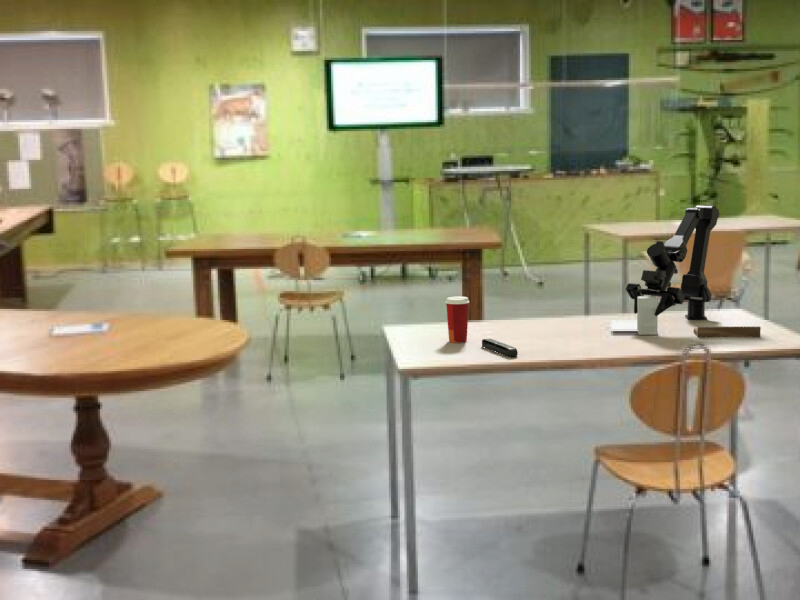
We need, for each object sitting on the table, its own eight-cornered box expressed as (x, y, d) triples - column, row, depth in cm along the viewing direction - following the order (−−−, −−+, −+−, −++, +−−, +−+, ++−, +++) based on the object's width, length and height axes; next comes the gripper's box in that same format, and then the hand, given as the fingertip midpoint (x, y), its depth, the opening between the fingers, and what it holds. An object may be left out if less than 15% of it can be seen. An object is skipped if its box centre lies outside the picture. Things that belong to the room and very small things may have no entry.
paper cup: (473, 339, 321) (473, 296, 318) (463, 344, 314) (463, 300, 312) (451, 338, 324) (451, 295, 322) (441, 342, 318) (440, 299, 315)
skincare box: (655, 332, 325) (656, 296, 323) (657, 334, 321) (658, 298, 319) (636, 332, 326) (637, 296, 324) (638, 335, 322) (638, 298, 320)
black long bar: (517, 358, 295) (517, 348, 295) (510, 359, 294) (510, 349, 294) (488, 347, 311) (488, 337, 311) (481, 347, 310) (481, 338, 310)
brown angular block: (693, 332, 324) (693, 322, 323) (754, 332, 322) (754, 322, 321) (697, 337, 316) (698, 327, 315) (760, 337, 314) (760, 327, 313)
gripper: (628, 258, 329) (610, 296, 323) (680, 262, 316) (663, 301, 310) (640, 279, 336) (623, 316, 330) (692, 284, 323) (674, 323, 317)
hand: (645, 314), depth 321 cm, fingers closed on skincare box, 7 cm apart
